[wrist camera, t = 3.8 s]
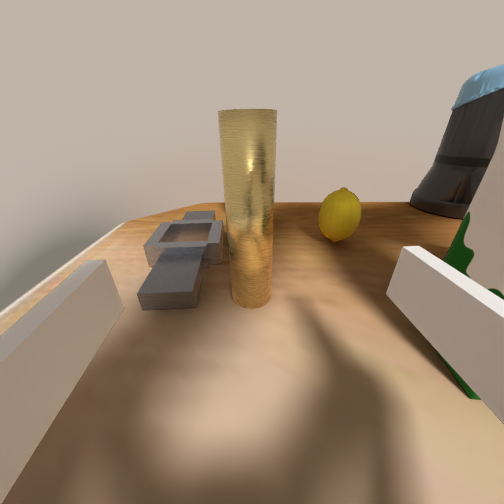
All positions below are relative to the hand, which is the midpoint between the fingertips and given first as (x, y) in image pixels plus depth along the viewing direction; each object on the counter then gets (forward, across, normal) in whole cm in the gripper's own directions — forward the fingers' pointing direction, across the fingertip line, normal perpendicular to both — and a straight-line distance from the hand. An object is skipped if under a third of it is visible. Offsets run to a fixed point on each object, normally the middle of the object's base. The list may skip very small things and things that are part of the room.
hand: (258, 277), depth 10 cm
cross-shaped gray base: (+20, -8, -9) cm, 23 cm away
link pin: (+9, 0, -9) cm, 13 cm away
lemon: (+20, +13, -9) cm, 26 cm away
